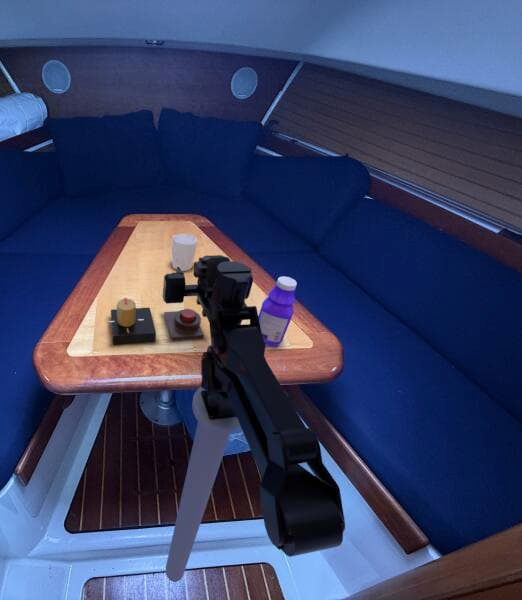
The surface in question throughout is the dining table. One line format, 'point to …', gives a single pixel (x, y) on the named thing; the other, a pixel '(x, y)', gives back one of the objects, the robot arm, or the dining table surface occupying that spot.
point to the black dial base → (134, 328)
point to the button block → (183, 327)
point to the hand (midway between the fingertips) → (197, 267)
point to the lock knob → (126, 312)
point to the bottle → (277, 311)
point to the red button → (188, 315)
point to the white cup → (183, 251)
